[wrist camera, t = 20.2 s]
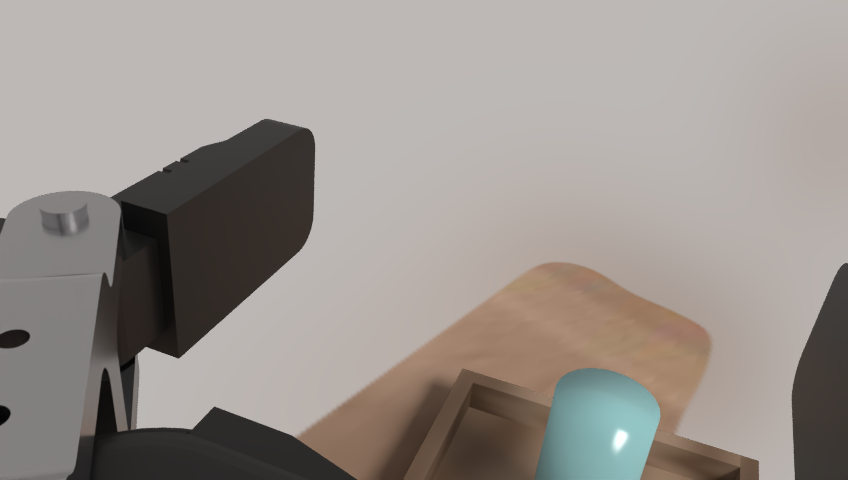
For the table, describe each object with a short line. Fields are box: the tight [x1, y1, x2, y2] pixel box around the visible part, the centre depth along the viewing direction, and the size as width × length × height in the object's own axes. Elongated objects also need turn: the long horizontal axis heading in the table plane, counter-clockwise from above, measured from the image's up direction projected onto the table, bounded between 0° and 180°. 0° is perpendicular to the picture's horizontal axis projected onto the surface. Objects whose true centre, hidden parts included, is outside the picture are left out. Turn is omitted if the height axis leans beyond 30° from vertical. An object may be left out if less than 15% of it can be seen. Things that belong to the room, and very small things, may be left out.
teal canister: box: [534, 368, 660, 480], centre depth 38 cm, size 5×5×10 cm
